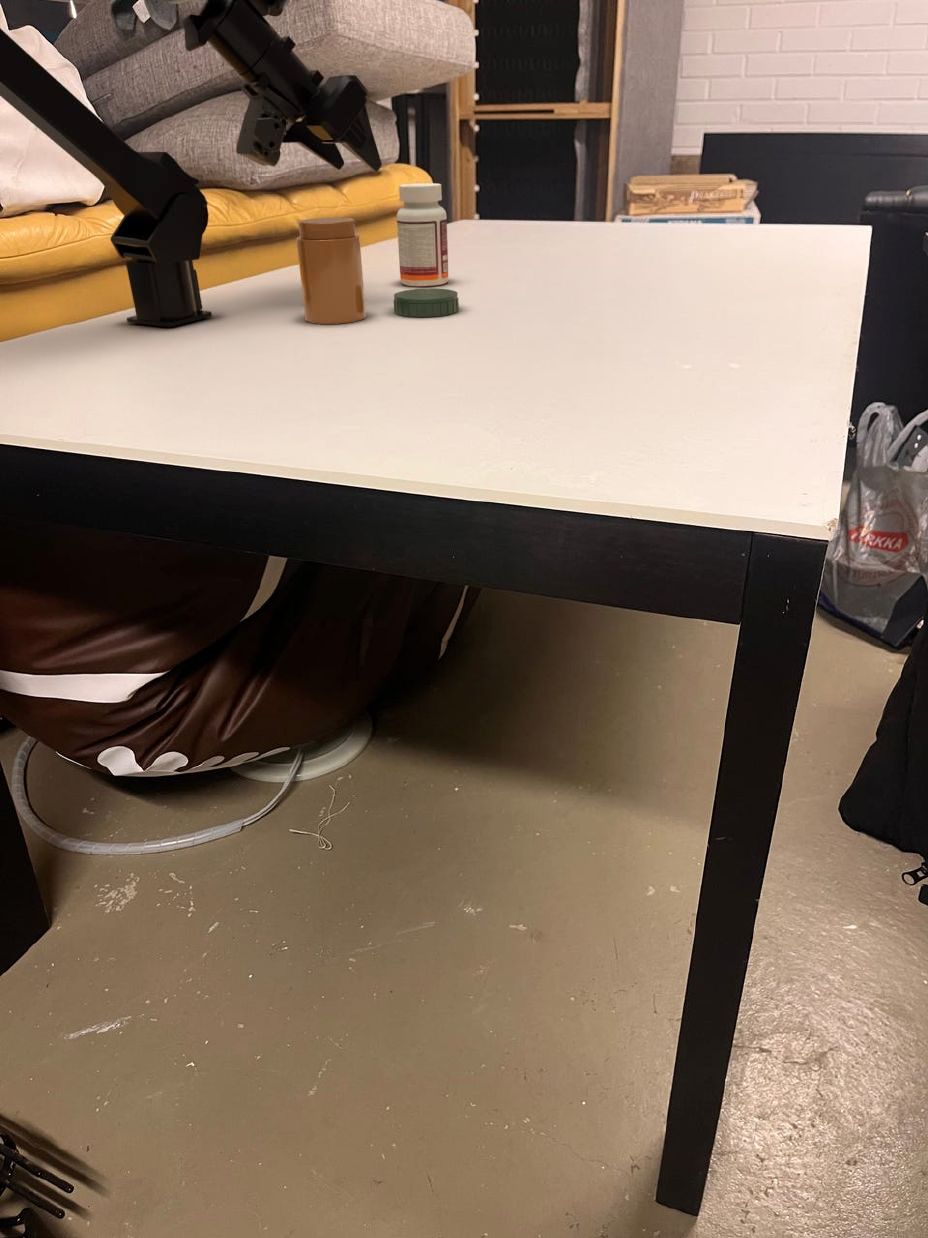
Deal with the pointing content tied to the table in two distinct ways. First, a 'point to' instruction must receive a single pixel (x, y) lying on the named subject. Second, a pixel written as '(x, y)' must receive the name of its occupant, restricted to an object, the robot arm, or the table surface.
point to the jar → (331, 271)
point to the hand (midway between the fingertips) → (359, 167)
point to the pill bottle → (422, 235)
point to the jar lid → (426, 302)
